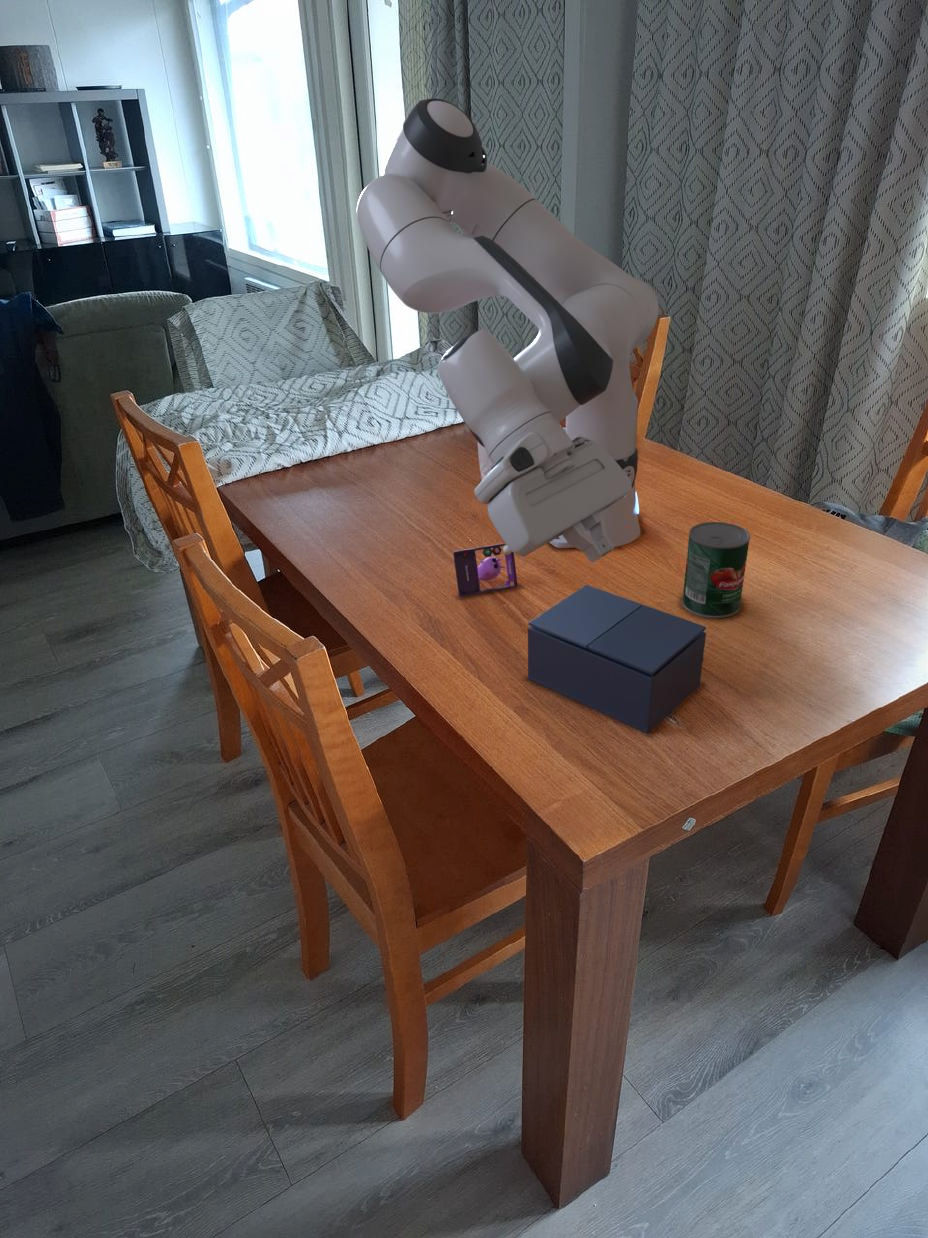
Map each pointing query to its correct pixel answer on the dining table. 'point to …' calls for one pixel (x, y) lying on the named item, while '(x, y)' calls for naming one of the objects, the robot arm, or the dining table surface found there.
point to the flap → (585, 615)
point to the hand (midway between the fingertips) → (603, 555)
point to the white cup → (484, 461)
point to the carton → (624, 666)
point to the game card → (482, 569)
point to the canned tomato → (715, 569)
